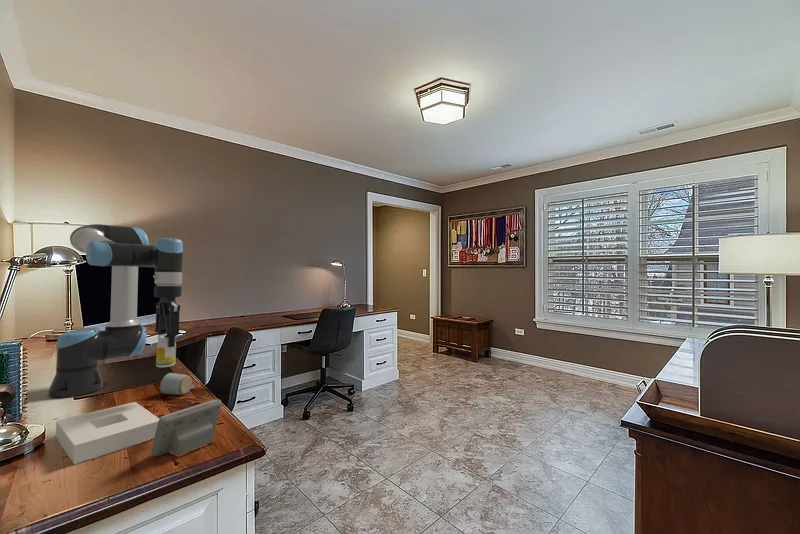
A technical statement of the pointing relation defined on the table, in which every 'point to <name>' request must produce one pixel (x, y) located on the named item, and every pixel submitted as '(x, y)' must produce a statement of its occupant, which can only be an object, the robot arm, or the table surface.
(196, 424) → the digital clock
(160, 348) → the supplement bottle
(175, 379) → the ceramic mug
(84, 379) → the robot arm
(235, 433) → the table surface
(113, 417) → the holder block
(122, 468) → the table surface
